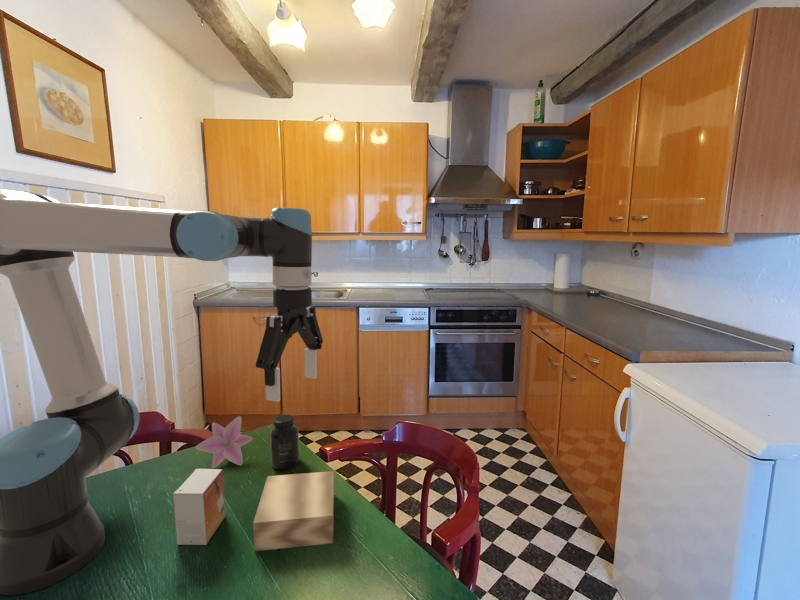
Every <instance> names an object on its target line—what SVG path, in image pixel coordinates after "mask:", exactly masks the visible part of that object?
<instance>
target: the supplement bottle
mask: <svg viewBox="0 0 800 600" xmlns="http://www.w3.org/2000/svg"><path fill="white" fill-rule="evenodd" d="M294 419H295V418H294V416H293V415H292V414H288V413H287V414H280V415H277V416H275V417H274V419H273V428H272V429H271V431H270V433H269V441H270V460H271V461H270V463H271V466H272V467H273V468H274V469H275V470H279V471H287V470H291V469H293V468H295V466H298V464H299V462H300V440H299V439H300V437H299V436H300V435H299V428H298V426H296V425H295V420H294Z"/></svg>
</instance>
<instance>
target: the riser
mask: <svg viewBox="0 0 800 600" xmlns="http://www.w3.org/2000/svg"><path fill="white" fill-rule="evenodd" d="M334 472H335V471H332V470H331V471H320V472H307V473H305V472H304V473H292V474H290V473H289V474H280V475H267V477H266V480H265V483H264V487H263V489H262V493H261V496H260V500H259V503H258V506H257V509H256V512H255V516H254V519H253V523H252V527H253V545H254V547H253V548H254V552H260V551H270V550H278V549H289V548H297V547H307V546H318V545H328V544H333V543H334V520H335V519H334V515H335V514H334V513H335V473H334Z"/></svg>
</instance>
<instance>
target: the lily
mask: <svg viewBox="0 0 800 600" xmlns="http://www.w3.org/2000/svg"><path fill="white" fill-rule="evenodd" d="M211 430H212V436H211V437H209V438H207V439H205V440H203V441H201V442H199V443H198V444H197V445H195V449H196V450H198V451H200V452H206V453H209V454H213V455H212V461H211V469H216V468H217V467H218V466H219V465H220V464H221V463H222V462H223V461H224V460H228V461H229V462H230V463H231V462H232V463H233V464H235V465H236V466H242V465H243V463H244V460H243V453H242V449H241V447H243V446H245V445H246V444H248V443H250V442H252V440H254V437H252V436H250V435H246V434H241V431H242V416H241V415H239V416H237V417H235V418H233V420H232V421H230V422H229V423H228V424H227V425H226V427H224V426H223V425H220V424H218V423H216V422H212V424H211Z"/></svg>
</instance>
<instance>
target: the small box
mask: <svg viewBox="0 0 800 600" xmlns="http://www.w3.org/2000/svg"><path fill="white" fill-rule="evenodd" d="M188 476H189V475H188ZM224 488H225V485H224V472H223V469H222V468H195V470H193V471H192V473H191V474H190V476H189V477H187V478H186V479H185V481H184V482H183V483H182V484H181V485H180V486H179V487H177V489H176V490H175V491H174V492H173V493H172V497H173V507H174V508H173V509H174V522H175V533H176V542H177V543H176V544H177V545H180V546H181V545H182V546H184V545H185V546H207V545H208V543H209V541H210V540H211V538H212V537H213V536H214V534H215V532H216V531H217V529H218V528H219V526H220V525H221V523H222V522H224V521H223V520H224V519H225V517H226V500H225V489H224Z"/></svg>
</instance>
